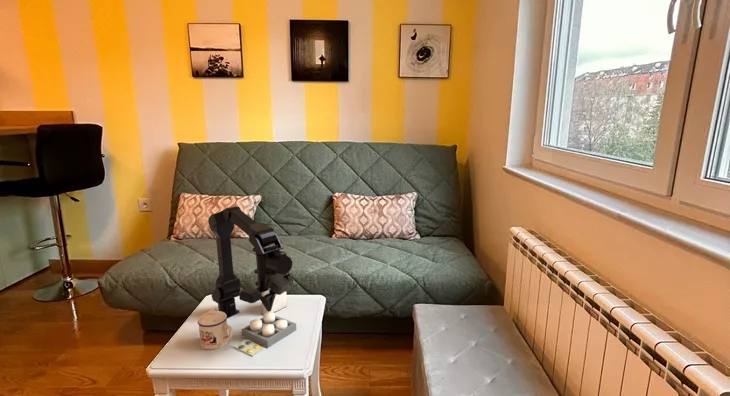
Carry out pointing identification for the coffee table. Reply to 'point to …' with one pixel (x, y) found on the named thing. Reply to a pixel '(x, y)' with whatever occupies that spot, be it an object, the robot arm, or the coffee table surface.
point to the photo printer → (277, 303)
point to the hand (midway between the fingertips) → (269, 311)
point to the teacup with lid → (214, 329)
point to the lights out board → (257, 337)
